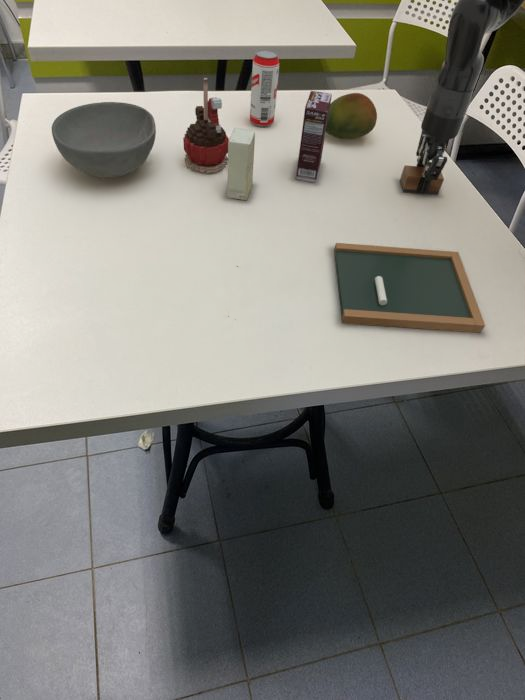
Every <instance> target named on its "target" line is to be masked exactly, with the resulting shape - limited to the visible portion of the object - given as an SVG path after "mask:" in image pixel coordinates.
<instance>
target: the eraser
mask: <svg viewBox="0 0 525 700" xmlns="http://www.w3.org/2000/svg"><path fill="white" fill-rule="evenodd" d="M428 168H429V167H428ZM423 169H424V167H419V166H417V165H406V164H405V165H404V166H403V169H402V171H401V174H400V175H401V176H400V179H399V184H400V188H401V191H402V193H407V194H418V195H420V194H421V195H431V196H432V195H433V196H438V195H439V193H440V190H441V188H442V187H443V186H442V185H443V183H444V181H445V178H444V175H443V172H442V171H441V173H440V175H439V177H438V179H437V180H431V183H430V186H429V188H428V191H427V193H418V192H417V188H418V185H419V182H420V179H421V176H422V173H423ZM427 170H428V169H427Z"/></svg>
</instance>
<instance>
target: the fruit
mask: <svg viewBox="0 0 525 700" xmlns="http://www.w3.org/2000/svg"><path fill="white" fill-rule="evenodd" d="M377 120H378V113H377V108H376V106H375V104H374V102H373V101H372V100H371V99H370V97H368V96H367V95H365V94H363V93H360V92H351V93H346V94H343V95H341V96H339V97H337V98H336V99H334V100H332V102H331V103H330V109H329V115H328V121H327V127H326V133H327V134H328V135H329V136H331V137H334V138H337V139H342V140H354V139H355V140H356V139H359V138H363V137H365V136H366V135H369V134H370V133H371V132H372V131H373V130H374V128H375V127H376V125H377Z"/></svg>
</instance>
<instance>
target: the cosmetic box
mask: <svg viewBox="0 0 525 700" xmlns="http://www.w3.org/2000/svg"><path fill="white" fill-rule="evenodd" d="M233 128H234V129H233V130H232V132H231V133H230V136H229V141H228V153H227V158H228V161H227V193H226V194H227V198H229V199H236V200H243V201H247V200H248V198H249V195H250V193H251V191H252V188H253V182H254V181H253V180H254V179H253V177H254V161H255V145H256V144H255V143H256V142H255V141H256V131H255V130H252V129H246V128H239V127H233Z"/></svg>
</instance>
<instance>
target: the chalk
mask: <svg viewBox="0 0 525 700" xmlns="http://www.w3.org/2000/svg"><path fill="white" fill-rule="evenodd" d="M375 285H376V290H377V296H378V301H379V304H380V305H382V306H383V305H386V304H387V298H386V293H385V288H384V283H383V278H382V277H381V276H377V277H376V278H375Z"/></svg>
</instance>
